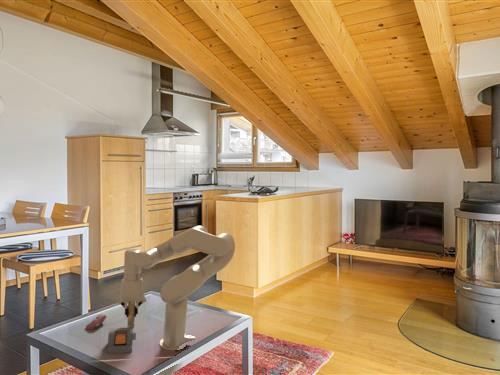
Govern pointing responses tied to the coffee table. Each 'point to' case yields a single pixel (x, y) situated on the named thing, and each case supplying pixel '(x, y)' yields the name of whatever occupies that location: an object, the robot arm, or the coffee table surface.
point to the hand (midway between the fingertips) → (131, 315)
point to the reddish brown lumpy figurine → (96, 321)
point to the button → (120, 339)
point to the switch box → (120, 348)
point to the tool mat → (134, 336)
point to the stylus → (131, 314)
